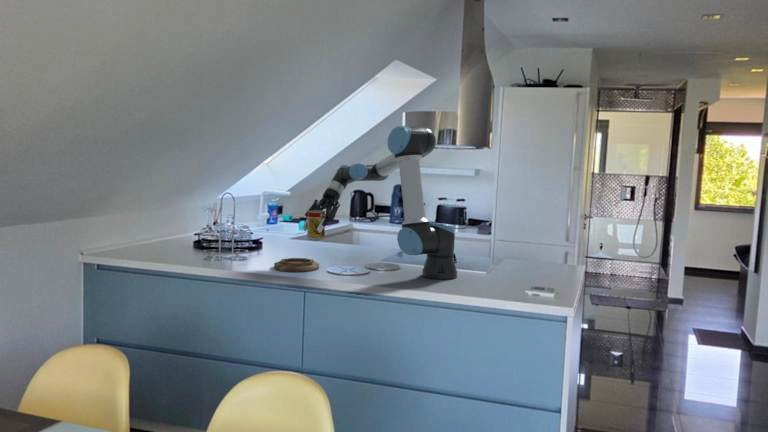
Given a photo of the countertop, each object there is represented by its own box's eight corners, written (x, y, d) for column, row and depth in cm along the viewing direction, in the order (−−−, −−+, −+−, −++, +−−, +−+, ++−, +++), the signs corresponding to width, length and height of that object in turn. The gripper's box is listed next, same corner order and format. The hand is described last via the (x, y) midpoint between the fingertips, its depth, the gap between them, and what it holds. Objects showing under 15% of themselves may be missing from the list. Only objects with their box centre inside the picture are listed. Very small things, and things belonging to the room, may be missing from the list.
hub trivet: (328, 269, 282) (328, 261, 282) (291, 274, 268) (291, 266, 268) (301, 262, 296) (301, 255, 296) (265, 267, 283) (265, 259, 282)
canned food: (325, 238, 284) (325, 212, 282) (308, 238, 282) (308, 212, 280) (323, 236, 291) (323, 210, 290) (306, 236, 289) (306, 210, 288)
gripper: (354, 199, 292) (332, 237, 280) (319, 196, 303) (297, 233, 291) (347, 188, 287) (325, 227, 275) (312, 186, 298) (289, 223, 286)
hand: (311, 230), depth 283 cm, fingers closed on canned food, 8 cm apart
